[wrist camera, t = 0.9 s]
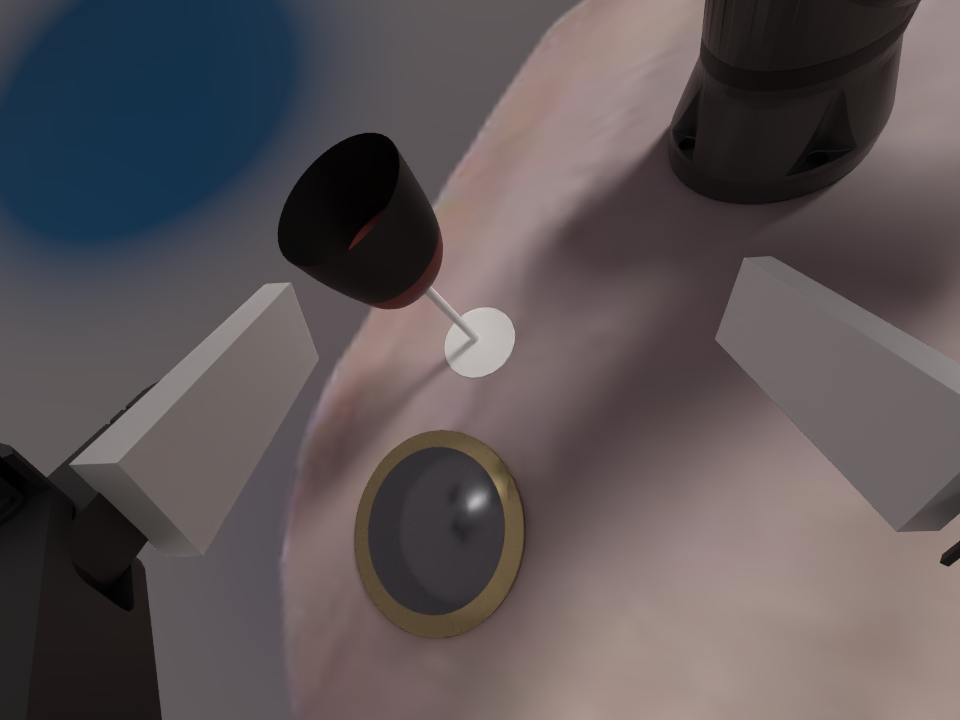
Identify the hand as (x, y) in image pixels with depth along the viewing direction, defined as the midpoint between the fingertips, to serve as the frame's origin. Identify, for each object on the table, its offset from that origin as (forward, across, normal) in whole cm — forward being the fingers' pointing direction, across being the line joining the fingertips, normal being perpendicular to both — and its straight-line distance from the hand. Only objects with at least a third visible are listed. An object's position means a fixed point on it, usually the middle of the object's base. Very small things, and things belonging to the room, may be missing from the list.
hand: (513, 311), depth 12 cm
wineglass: (+21, -2, -15) cm, 26 cm away
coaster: (+8, -6, -25) cm, 27 cm away
